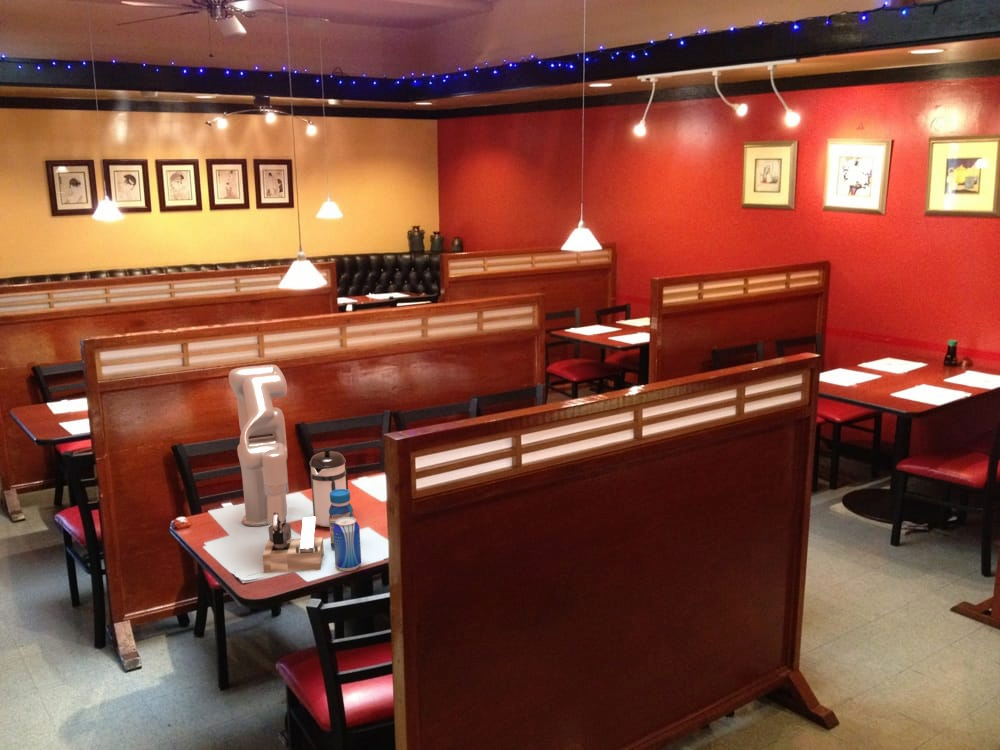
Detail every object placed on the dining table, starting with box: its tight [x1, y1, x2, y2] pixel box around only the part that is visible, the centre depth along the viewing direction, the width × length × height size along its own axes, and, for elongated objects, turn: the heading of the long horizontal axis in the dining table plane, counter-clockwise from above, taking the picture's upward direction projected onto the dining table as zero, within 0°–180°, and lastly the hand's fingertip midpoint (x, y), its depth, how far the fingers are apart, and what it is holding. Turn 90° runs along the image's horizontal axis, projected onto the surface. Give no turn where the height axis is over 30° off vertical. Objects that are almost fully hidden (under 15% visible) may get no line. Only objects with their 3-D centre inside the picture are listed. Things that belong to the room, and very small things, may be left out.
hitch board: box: [262, 536, 325, 574], centre depth 278 cm, size 12×18×8 cm, turn 96°
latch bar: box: [300, 516, 316, 553], centre depth 277 cm, size 14×4×2 cm
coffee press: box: [309, 446, 349, 529], centre depth 308 cm, size 17×16×30 cm
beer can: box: [333, 517, 362, 572], centre depth 274 cm, size 8×8×16 cm
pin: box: [268, 522, 292, 551], centre depth 277 cm, size 7×7×10 cm
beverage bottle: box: [329, 489, 355, 550], centre depth 289 cm, size 8×8×20 cm
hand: (280, 538), depth 276 cm, fingers closed on pin, 7 cm apart
